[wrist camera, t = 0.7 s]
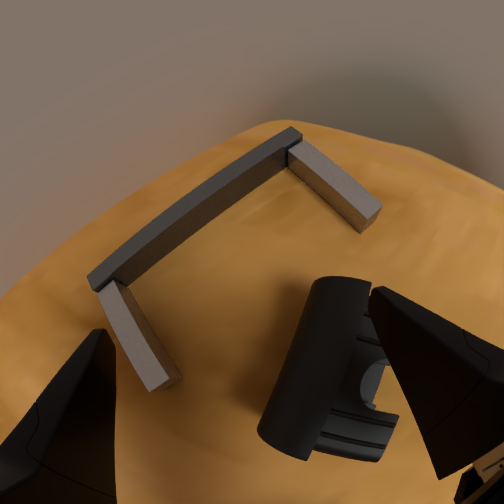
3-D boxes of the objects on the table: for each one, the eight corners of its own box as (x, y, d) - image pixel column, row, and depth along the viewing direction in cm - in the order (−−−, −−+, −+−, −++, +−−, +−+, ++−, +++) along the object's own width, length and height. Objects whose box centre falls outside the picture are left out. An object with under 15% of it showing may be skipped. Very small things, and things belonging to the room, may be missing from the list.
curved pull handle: (375, 220, 22) (384, 201, 19) (163, 390, 19) (145, 392, 16) (291, 148, 26) (290, 126, 23) (106, 286, 23) (86, 276, 20)
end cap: (309, 294, 21) (317, 263, 14) (395, 321, 19) (435, 301, 13) (261, 418, 17) (248, 444, 11) (351, 444, 16) (376, 476, 9)
